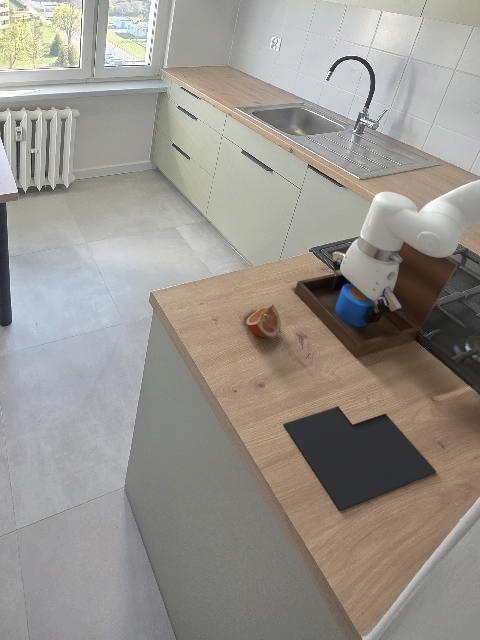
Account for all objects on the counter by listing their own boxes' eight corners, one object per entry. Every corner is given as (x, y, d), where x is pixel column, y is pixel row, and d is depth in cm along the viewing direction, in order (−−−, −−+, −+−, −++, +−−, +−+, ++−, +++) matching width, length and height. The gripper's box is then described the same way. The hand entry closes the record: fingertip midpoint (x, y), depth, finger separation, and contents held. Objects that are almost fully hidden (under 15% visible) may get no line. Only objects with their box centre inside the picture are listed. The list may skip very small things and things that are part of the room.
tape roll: (350, 301, 102) (358, 280, 99) (374, 323, 96) (383, 302, 93) (328, 306, 100) (335, 285, 97) (351, 329, 94) (359, 308, 91)
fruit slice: (256, 311, 99) (260, 295, 97) (284, 329, 94) (289, 313, 92) (238, 331, 93) (243, 315, 91) (267, 351, 89) (272, 334, 87)
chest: (354, 360, 88) (360, 346, 86) (293, 294, 104) (297, 281, 102) (413, 343, 92) (420, 329, 91) (346, 282, 109) (351, 269, 107)
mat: (369, 397, 81) (370, 396, 81) (435, 472, 69) (436, 471, 69) (283, 425, 75) (283, 423, 75) (339, 511, 64) (340, 510, 64)
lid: (456, 265, 84) (471, 262, 85) (376, 211, 100) (390, 210, 101) (419, 328, 90) (434, 325, 92) (350, 268, 107) (364, 267, 108)
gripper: (429, 272, 83) (399, 332, 90) (358, 220, 98) (337, 275, 105) (400, 278, 81) (372, 339, 88) (332, 224, 96) (313, 280, 103)
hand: (353, 304), depth 97 cm, fingers open, 9 cm apart
